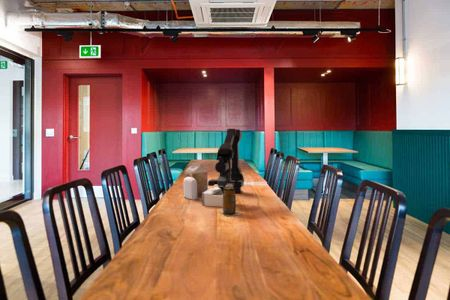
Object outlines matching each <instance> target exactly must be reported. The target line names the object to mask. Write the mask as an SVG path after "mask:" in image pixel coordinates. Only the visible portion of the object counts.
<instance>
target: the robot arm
mask: <svg viewBox="0 0 450 300" xmlns="http://www.w3.org/2000/svg"><path fill="white" fill-rule="evenodd" d="M242 135H243V132H242V130H241V129H236V128H228V129H226V135H225V138H224V141H223V143H222V144H221V145H219V148H218V150H217V153H216V161H218V162H216V164H215V166H214V169H215V171H216V172H217V173H219V177H217V179H216V178H215V179H213V178H211V179H208V187H215V185H217V187H218V188H220V189H221V190H222V192H223V194H224V188H226V187H233V188H235V194H241V193H243V190H242V188H243V186H245V185H244V183H245V177H244V175H243V171H242V169H241V168H240V156H239V154H240V152H239V151H240V150H239V149H240V148H239V147H240V146H239V144H240V142H241V139H242Z"/></svg>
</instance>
